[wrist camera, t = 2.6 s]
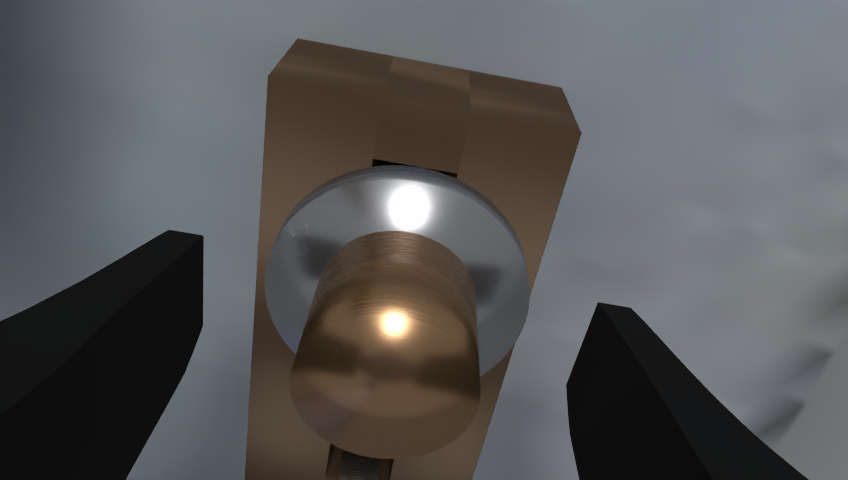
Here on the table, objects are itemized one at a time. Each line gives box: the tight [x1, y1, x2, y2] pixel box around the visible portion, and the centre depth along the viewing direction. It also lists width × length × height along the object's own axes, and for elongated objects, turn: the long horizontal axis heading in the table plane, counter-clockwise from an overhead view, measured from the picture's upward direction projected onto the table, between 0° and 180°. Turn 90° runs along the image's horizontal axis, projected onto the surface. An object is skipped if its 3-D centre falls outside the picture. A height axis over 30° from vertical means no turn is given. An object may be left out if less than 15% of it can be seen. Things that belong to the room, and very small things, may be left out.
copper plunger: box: [265, 165, 530, 459], centre depth 13 cm, size 5×5×6 cm
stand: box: [245, 39, 581, 480], centre depth 20 cm, size 14×7×3 cm, turn 170°
